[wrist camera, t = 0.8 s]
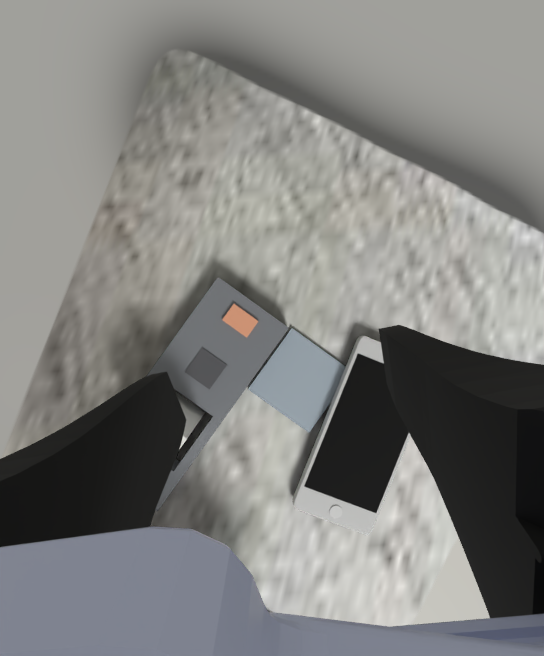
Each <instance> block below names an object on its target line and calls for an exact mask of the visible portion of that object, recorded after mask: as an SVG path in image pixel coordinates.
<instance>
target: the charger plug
mask: <svg viewBox="0 0 544 656" xmlns="http://www.w3.org/2000/svg"><path fill="white" fill-rule="evenodd" d="M175 393H176V395H177V398H178V400H179V403H180V405H181V408H182V410H183V413H184V415H185V417H186V424H185V429H184V434H183V438H182V442H181V446H182V445H183V444H184V442H185V441H186V440H187V438H188V437H189V435H190V434H191V432H192V431H193V429H194V428H195V427H196V425H197V424H198V422H199V421H200V419H201V418H202V416H203V415H204V414H205V412H204V411H203V410H201V409H200V408H199V407H197V406H196V405H194V404H193V403H192V402H190V401H189V400H187V399H186V398H185V397H183V396H182V395H180V394H179V393H178V392H176V391H175ZM181 446H180V448H181ZM180 448H179V449H180Z"/></svg>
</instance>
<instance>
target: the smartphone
mask: <svg viewBox="0 0 544 656" xmlns="http://www.w3.org/2000/svg"><path fill="white" fill-rule="evenodd" d="M410 436H411V435H410V433H409V431H408V430H407V428H406V426H405V424H404V422H403V421H402V419H401V417H400V415H399V413H398V411H397V410H396V407H395V405H394V402H393V400H392V397H391V394H390V392H389V389H388V386H387V383H386V376H385V368H384V361H383V354H382V347H381V342H379V341H376V340H374V339H371V338H369V337H367V336H360V337H359V338H358V339H357V341H356V343H355V345H354V348H353V350H352V353H351V355H350V358H349V360H348V363H347V365H346V367H345V370H344V372H343V375H342V377H341V380H340V382H339V385H338V387H337V390H336V392H335V395H334V397H333V400H332V402H331V405H330V407H329V410H328V412H327V415H326V417H325V419H324V422H323V424H322V427H321V429H320V432H319V434H318V437H317V439H316V442H315V444H314V447H313V449H312V452H311V454H310V457H309V459H308V462H307V464H306V467H305V469H304V471H303V474H302V476H301V479H300V481H299V484H298V486H297V489H296V491H295V494H294V496H293V505H294V508H295V509H296V510H299V511H302V512H304V513H307V514H310V515H312V516H315V517H318V518H321V519H323V520H326V521H329V522H332V523H334V524H337V525H340V526H343V527H345V528H348V529H351V530H353V531H356V532H359V533H362V534H364V535H369V534H370V533H371V532H372V530H373V527H374V525H375V522H376V520H377V518H378V515H379V513H380V510H381V508H382V505H383V503H384V500H385V498H386V495H387V493H388V490H389V488H390V485H391V483H392V480H393V478H394V475H395V473H396V470H397V468H398V465H399V463H400V460H401V458H402V456H403V453H404V451H405V448H406V446H407V443H408V441H409V438H410Z"/></svg>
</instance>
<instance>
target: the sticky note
mask: <svg viewBox="0 0 544 656" xmlns="http://www.w3.org/2000/svg"><path fill="white" fill-rule="evenodd" d="M344 370H345V366H344V365H343V364H341V363H340V362H338V361H337V360H336V359H334V358H333V357H331V356H330V355H329V354H327V353H326V352H325V351H323V350H322V349H320V348H319V347H318V346H316V345H315V344H313V343H312V342H311V341H309V340H308V339H306V338H305V337H304V336H302V335H301V334H300V333H298V332H297V331H295V330H294V329H293V328H291V330H290V331H289V333H288V334H287V335H286V337H285V338H284V340H283V341H282V342H281V344H280V345H279V346H278V348H277V349H276V351H275V352H274V353H273V355H272V356H271V358H270V359H269V360H268V362H267V363H266V365H265V366H264V367H263V369H262V370H261V372H260V373H259V374H258V376H257V377H256V378H255V380H254V381H253V383H252V384H251V385H250V387H249V388H248V389H249V390H250V391H251V392H253V393H254V394H256V395H257V396H258V397H260V398H261V399H263V400H264V401H265V402H267V403H268V404H270V405H271V406H272V407H274V408H275V409H277V410H278V411H279V412H281V413H282V414H284V415H285V416H286V417H288V418H289V419H291V420H292V421H293V422H295V423H296V424H298V425H299V426H300V427H302V428H303V429H305V430H306V431H307V432H310V431H311V429H312V428H313V426H314V425H315V424H316V422H317V421H318V420H319V418H320V417H321V415H322V414H323V413H324V411H325V410H326V408H327V407H328V406H329V404H330V403H331V401H332V400H333V397H334V395H335V392H336V390H337V387H338V385H339V382H340V380H341V377H342V375H343V372H344Z"/></svg>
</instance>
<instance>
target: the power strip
mask: <svg viewBox="0 0 544 656" xmlns="http://www.w3.org/2000/svg"><path fill="white" fill-rule="evenodd" d="M288 329H289V328H288V327H287V326H286V325H284V324H283V323H282V322H280V321H279V320H277V319H276V318H275V317H273V316H272V315H270V314H269V313H268V312H266V311H265V310H263V309H262V308H261V307H259V306H258V305H257V304H255V303H254V302H252V301H251V300H250V299H248V298H247V297H245V296H244V295H243V294H241V293H240V292H238V291H237V290H236V289H234V288H233V287H232V286H230V285H229V284H227V283H226V282H225V281H223V280H222V279H220V278H219V277H218V278H217V279H216V280H215V282H214V283H213V285H212V286H211V287H210V289H209V290H208V291H207V293H206V294H205V296H204V297H203V298H202V300H201V301H200V303H199V304H198V305H197V307H196V308H195V310H194V311H193V312H192V314H191V315H190V316H189V318H188V319H187V321H186V322H185V323H184V325H183V326H182V328H181V329H180V330H179V332H178V333H177V334H176V336H175V337H174V339H173V340H172V341H171V343H170V344H169V346H168V347H167V348H166V350H165V351H164V352H163V354H162V355H161V357H160V358H159V359H158V361H157V362H156V364H155V365H154V366H153V368H152V369H151V370H150V372H149V373H148V375H147V376H149V375H151V374H156V373H161V372H166V371H167V373H168V375H169V378H170V380H171V383H172V385H173V388H174V389H175V390H177V391H178V392H179V393H181V394H182V395H184V396H185V397H186V398H188V399H189V400H191V401H192V402H193V403H195V404H196V405H198V406H199V407H200V408H202V409H203V410H205V411H206V412H207V413H209V414H210V415H212V418H211V419H210V421H209V422H208V423H207V425H206V426H205V427H204V429H203V430H202V432H201V433H200V434H199V436H198V437H197V439H196V440H195V441H194V443H193V444H192V446H191V447H190V448H189V450H188V451H187V453H186V454H185V455H184V457H183V458H182V459H181V461H180V462H179V461H178V460H177V459H175V462H174V464H173V467H172V469H171V472H170V474H169V477H168V479H167V482H166V484H165V487H164V489H163V491H162V494H161V496H160V499H159V501H158V504H157V507H156V509H155V510H157V511H158V510H159V508H160V507H161V506H162V504H163V503H164V501H165V500H166V499H167V497H168V496H169V495H170V493H171V492H172V490H173V489H174V488H175V486H176V485H177V483H178V482H179V481H180V479H181V478H182V476H183V475H184V474H185V472H186V471H187V469H188V468H189V467H190V465H191V464H192V463H193V461H194V460H195V458H196V457H197V456H198V454H199V453H200V451H201V450H202V449H203V447H204V446H205V444H206V443H207V442H208V440H209V439H210V437H211V436H212V435H213V433H214V432H215V431H216V429H217V428H218V426H219V425H220V424H221V422H222V421H223V419H224V418H225V417H226V415H227V414H228V412H229V411H230V410H231V408H232V407H233V405H234V404H235V403H236V401H237V400H238V398H239V397H240V396H241V394H242V393H243V392H244V390H245V389H246V387H247V386H248V385H249V383H250V382H251V380H252V379H253V378H254V376H255V375H256V373H257V372H258V371H259V369H260V368H261V366H262V365H263V364H264V362H265V361H266V360H267V358H268V357H269V355H270V354H271V353H272V351H273V350H274V348H275V347H276V346H277V344H278V343H279V341H280V340H281V339H282V337H283V336H284V334H285V333H286V332H287V330H288Z"/></svg>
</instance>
